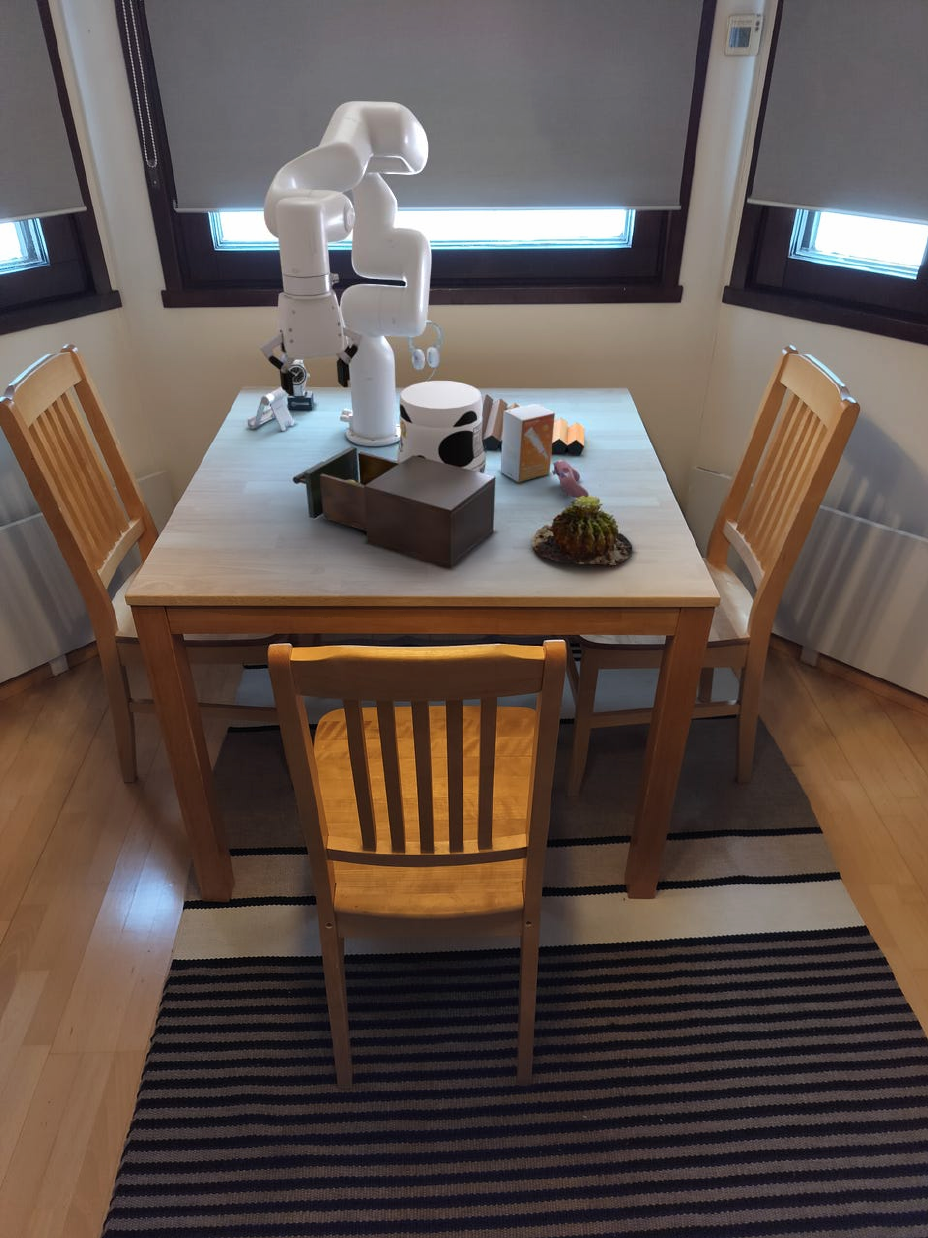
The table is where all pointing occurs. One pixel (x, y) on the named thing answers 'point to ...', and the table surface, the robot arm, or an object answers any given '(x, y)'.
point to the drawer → (342, 485)
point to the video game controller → (569, 479)
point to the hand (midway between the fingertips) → (316, 389)
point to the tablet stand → (272, 410)
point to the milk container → (442, 424)
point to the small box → (527, 442)
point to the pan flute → (495, 411)
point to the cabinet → (430, 510)
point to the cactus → (583, 536)
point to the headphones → (432, 353)
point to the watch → (300, 389)
